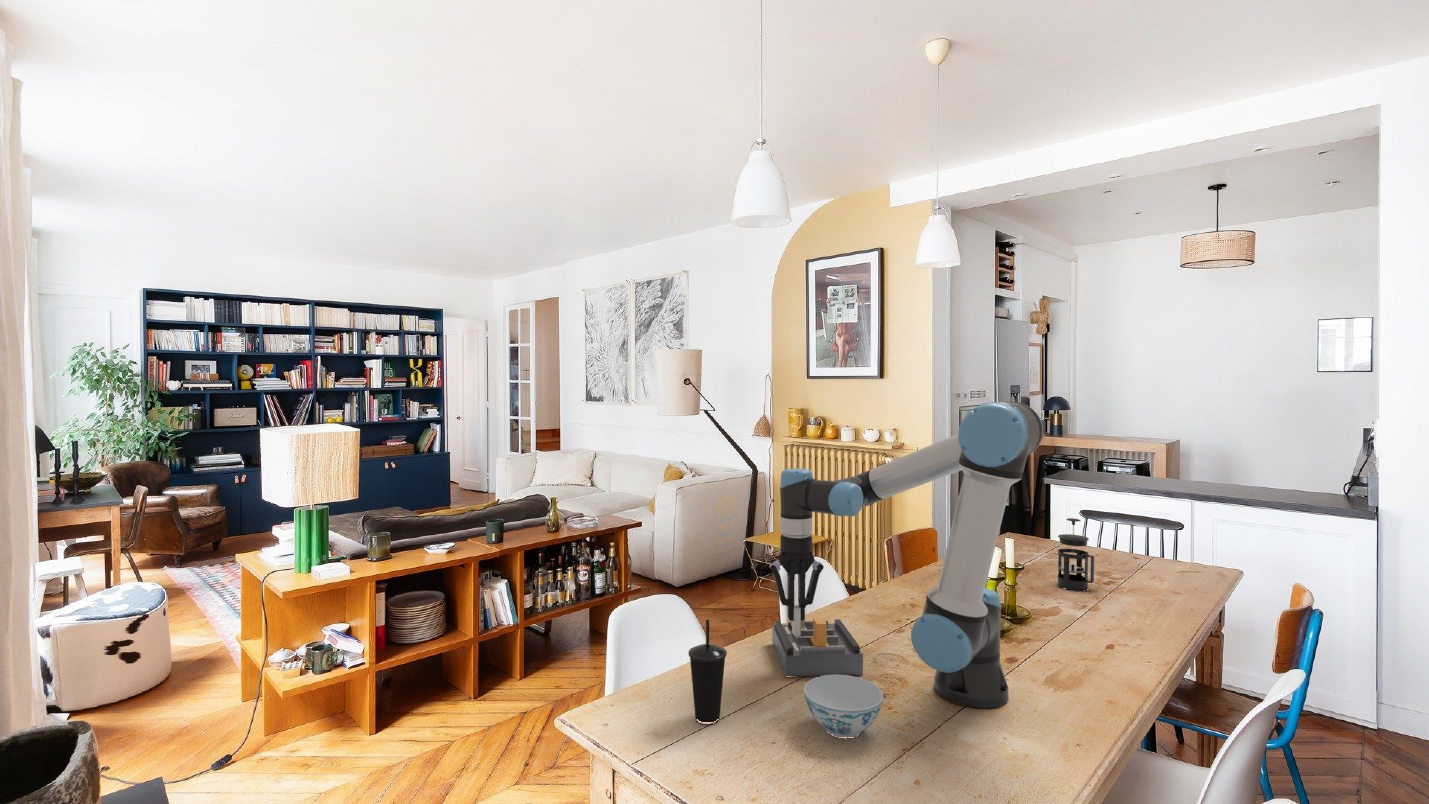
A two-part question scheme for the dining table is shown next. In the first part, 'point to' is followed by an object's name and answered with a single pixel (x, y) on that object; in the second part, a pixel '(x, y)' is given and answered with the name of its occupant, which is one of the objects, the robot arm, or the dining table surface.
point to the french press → (1073, 580)
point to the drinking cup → (707, 678)
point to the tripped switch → (819, 632)
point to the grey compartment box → (817, 651)
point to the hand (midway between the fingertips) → (796, 633)
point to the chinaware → (843, 703)
